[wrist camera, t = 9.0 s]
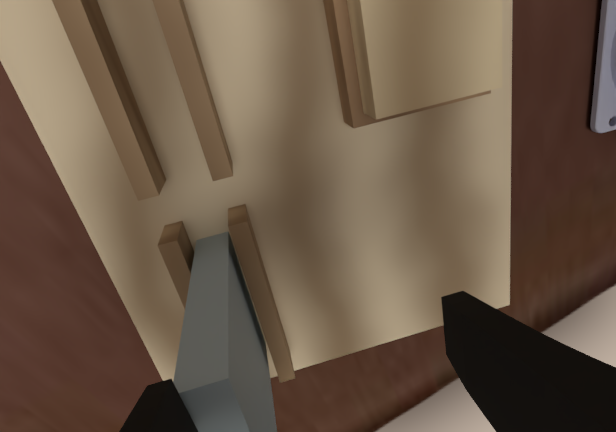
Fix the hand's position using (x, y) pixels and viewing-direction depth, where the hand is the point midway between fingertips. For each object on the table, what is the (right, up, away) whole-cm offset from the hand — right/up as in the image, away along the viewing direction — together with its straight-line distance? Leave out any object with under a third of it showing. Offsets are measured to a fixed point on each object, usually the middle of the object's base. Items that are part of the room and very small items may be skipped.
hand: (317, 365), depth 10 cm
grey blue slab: (-4, 0, +9) cm, 10 cm away
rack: (0, +6, +9) cm, 11 cm away
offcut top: (+4, +12, +4) cm, 13 cm away
